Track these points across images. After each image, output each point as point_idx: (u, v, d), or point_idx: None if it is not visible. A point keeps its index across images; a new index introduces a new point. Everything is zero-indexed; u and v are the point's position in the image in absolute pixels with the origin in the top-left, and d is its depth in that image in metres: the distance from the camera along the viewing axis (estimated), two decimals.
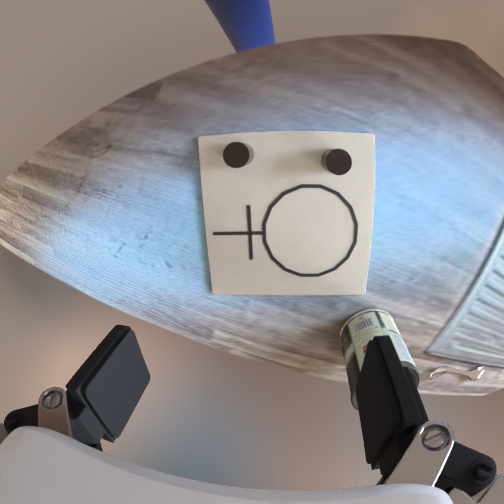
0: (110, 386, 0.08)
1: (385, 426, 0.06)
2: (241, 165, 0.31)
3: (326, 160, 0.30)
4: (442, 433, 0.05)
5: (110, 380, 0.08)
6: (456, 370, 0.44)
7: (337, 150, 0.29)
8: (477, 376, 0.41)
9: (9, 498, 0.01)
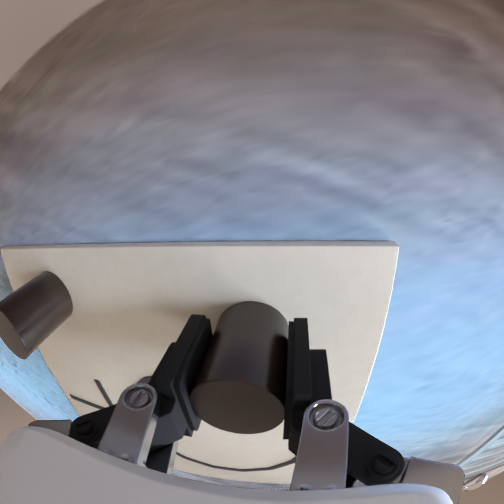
0: (195, 376, 0.09)
1: None
2: (23, 356, 0.09)
3: (192, 402, 0.08)
4: (333, 409, 0.07)
5: (195, 370, 0.09)
6: None
7: (226, 384, 0.07)
8: (475, 488, 0.20)
9: (9, 498, 0.01)
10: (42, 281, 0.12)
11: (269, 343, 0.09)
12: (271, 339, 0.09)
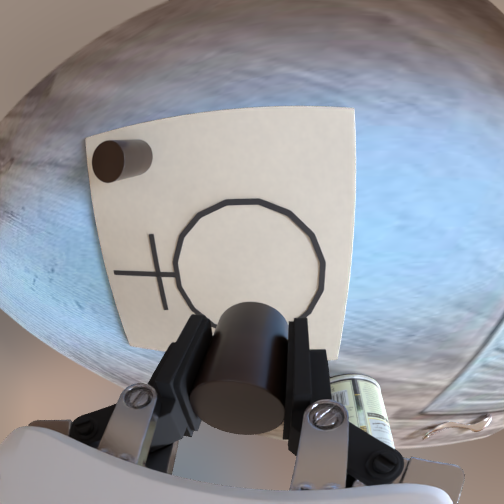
0: (195, 376, 0.09)
1: None
2: (115, 178, 0.17)
3: (192, 402, 0.08)
4: (333, 409, 0.07)
5: (195, 370, 0.09)
6: (457, 424, 0.30)
7: (226, 385, 0.07)
8: (482, 428, 0.28)
9: (9, 498, 0.01)
10: (135, 140, 0.20)
11: (269, 344, 0.09)
12: (271, 340, 0.09)
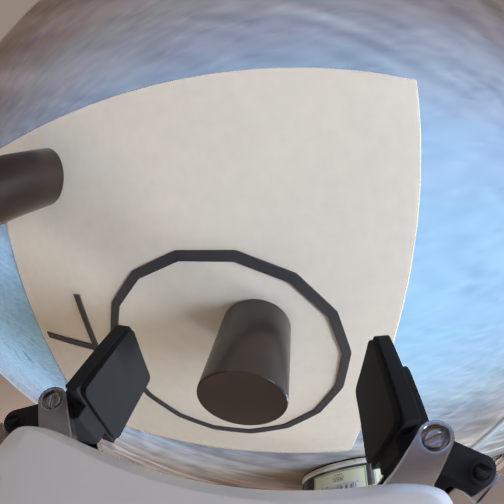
0: (110, 386, 0.08)
1: (385, 426, 0.06)
2: None
3: (199, 393, 0.09)
4: (442, 433, 0.05)
5: (110, 380, 0.08)
6: None
7: (232, 376, 0.08)
8: (498, 470, 0.17)
9: (9, 498, 0.01)
10: (36, 150, 0.10)
11: (272, 338, 0.10)
12: (274, 334, 0.10)
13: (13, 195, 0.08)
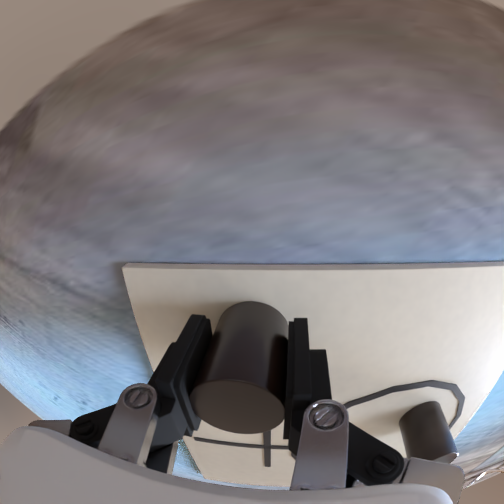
0: (195, 376, 0.09)
1: None
2: (255, 431, 0.08)
3: None
4: (333, 409, 0.07)
5: (195, 370, 0.09)
6: (491, 471, 0.21)
7: (442, 457, 0.09)
8: None
9: (9, 498, 0.01)
10: (264, 318, 0.10)
11: (447, 427, 0.10)
12: (446, 424, 0.11)
13: None
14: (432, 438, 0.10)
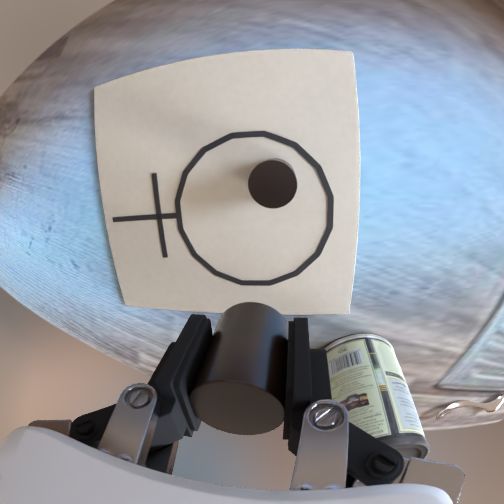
0: (195, 376, 0.09)
1: None
2: (255, 432, 0.08)
3: (249, 183, 0.17)
4: (333, 409, 0.07)
5: (195, 370, 0.09)
6: (471, 403, 0.29)
7: (269, 163, 0.17)
8: (496, 407, 0.27)
9: (9, 498, 0.01)
10: (264, 319, 0.10)
11: (286, 162, 0.19)
12: (287, 163, 0.19)
13: None
14: None
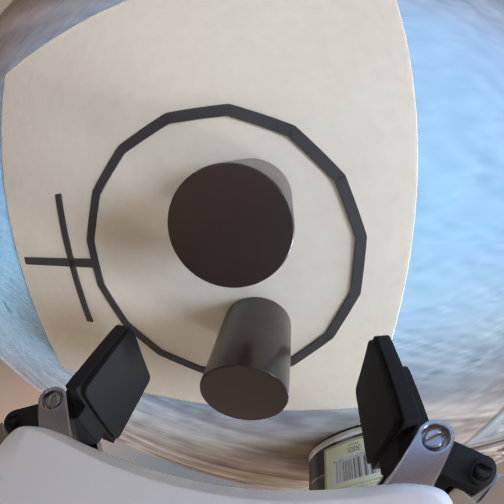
0: (110, 386, 0.08)
1: (385, 426, 0.06)
2: (260, 417, 0.09)
3: (171, 224, 0.07)
4: (442, 433, 0.05)
5: (110, 380, 0.08)
6: (491, 453, 0.18)
7: (216, 173, 0.06)
8: None
9: (9, 498, 0.01)
10: (268, 312, 0.11)
11: (269, 168, 0.08)
12: (271, 169, 0.08)
13: None
14: None
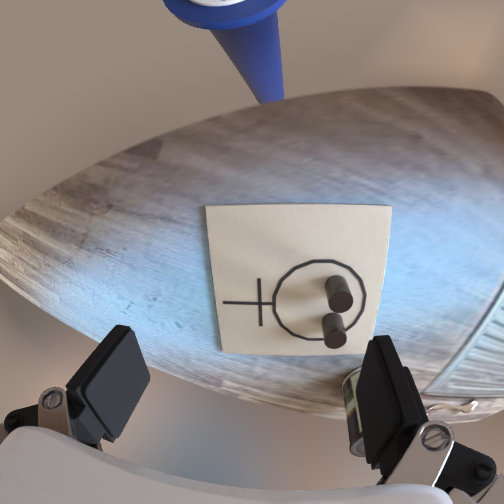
0: (110, 386, 0.08)
1: (385, 426, 0.06)
2: (338, 347, 0.34)
3: (329, 301, 0.32)
4: (442, 433, 0.05)
5: (110, 380, 0.08)
6: (450, 406, 0.44)
7: (340, 292, 0.32)
8: (470, 409, 0.41)
9: (9, 498, 0.01)
10: (338, 317, 0.37)
11: (346, 285, 0.33)
12: (346, 284, 0.34)
13: None
14: (336, 286, 0.33)
